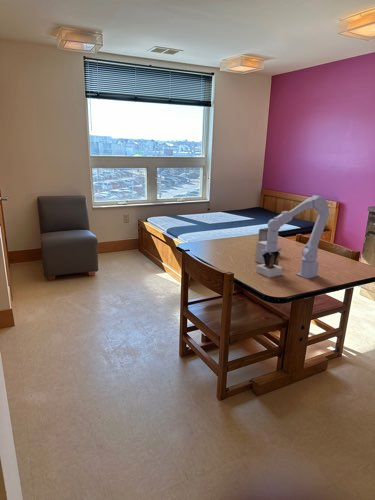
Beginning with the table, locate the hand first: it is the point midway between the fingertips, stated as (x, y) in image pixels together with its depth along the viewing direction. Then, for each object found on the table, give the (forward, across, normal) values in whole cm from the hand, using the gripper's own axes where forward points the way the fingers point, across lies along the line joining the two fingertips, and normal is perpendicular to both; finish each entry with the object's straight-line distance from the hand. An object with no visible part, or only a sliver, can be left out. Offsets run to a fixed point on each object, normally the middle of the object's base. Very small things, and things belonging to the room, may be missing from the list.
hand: (269, 264), depth 192 cm
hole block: (+5, 0, 0) cm, 5 cm away
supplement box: (+5, -12, -16) cm, 21 cm away
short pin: (+5, -11, -6) cm, 14 cm away
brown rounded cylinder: (+2, 0, 0) cm, 2 cm away
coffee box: (+5, -29, -31) cm, 43 cm away
